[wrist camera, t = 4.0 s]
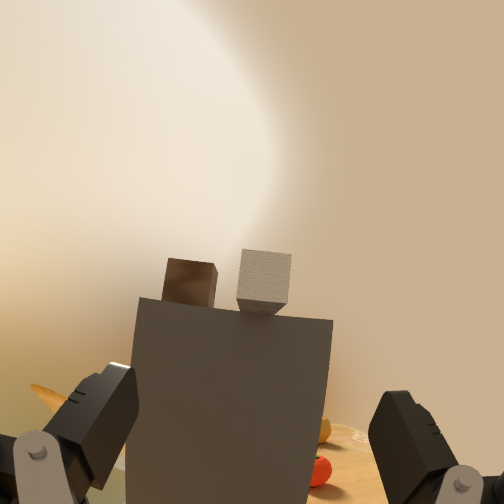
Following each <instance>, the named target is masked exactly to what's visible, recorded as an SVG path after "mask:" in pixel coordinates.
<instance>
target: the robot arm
mask: <svg viewBox="0 0 504 504" xmlns="http://www.w3.org/2000/svg"><path fill="white" fill-rule="evenodd" d="M138 413H139V396H138V389H137V381H136V373H135V369H134V368H133V367H131V366H126V365H122V364H118V363H114V362H111V363H109V364H108V366H107V367H106V368H105V369H104V371H103V372H102V373H101V374H97V373H94V374H92V375H90V376H88V377H87V378H85V379H83V380H82V381H81V382H80V384H79V385H78V386H77V387H76V388H75V391H74V392H72V394H71V395H70V396H69V397H68V400H66V401H65V402H64V404H63V405H62V406H61V407H60V409H59V410H58V411H57V412H56V414H55V415H54V416H53V418H52V419H51V420H50V422H49V423H48V424H47V425H46V427H45V428H44V429H43V430H42V431H38V430H34V431H29V432H25V433H23V434H22V435H20V436H19V437H18V438H15V437H10V436H6V435H2V434H0V504H89V501H88V498H87V496H86V493H87V491H88V489H89V487H90V486H91V487H94V488H96V489H99V490H103V487H104V485H105V483H106V481H107V479H108V477H109V475H110V473H111V470H112V468H113V466H114V464H115V462H116V460H117V458H118V456H119V454H120V452H121V450H122V448H123V446H124V444H125V441H126V439H127V437H128V435H129V433H130V431H131V429H132V427H133V425H134V423H135V421H136V419H137V416H138ZM368 438H369V442H370V445H371V448H372V451H373V454H374V457H375V461H376V464H377V467H378V470H379V473H380V476H381V480H382V483H383V486H384V489H385V493H386V496H387V499H388V503H389V504H504V472H503V473H502V474H501V475H500V476H486V477H482V476H481V475H480V473H479V472H478V471H477V470H475V469H474V468H472V467H470V466H466V465H459V464H458V462H457V460H456V458H455V456H454V454H453V453H452V451H451V449H450V447H449V445H448V444H447V442H446V440H445V438H444V436H443V435H442V434H441V433H440V430H439V428H438V426H437V425H436V423H435V421H434V419H433V417H432V416H431V414H430V412H428V411H427V410H426V409H425V408H423V406H421V405H420V404H416V403H415V402H414V400H413V398H412V396H411V395H410V393H409V392H408V391H407V390H403V391H386V392H385V393H384V394H383V396H382V398H381V400H380V402H379V405H378V407H377V409H376V411H375V414H374V416H373V418H372V420H371V422H370V425H369V430H368Z"/></svg>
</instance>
